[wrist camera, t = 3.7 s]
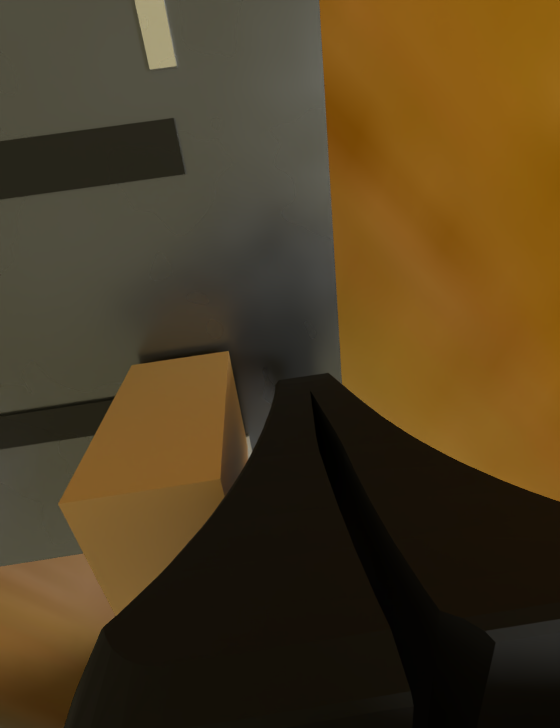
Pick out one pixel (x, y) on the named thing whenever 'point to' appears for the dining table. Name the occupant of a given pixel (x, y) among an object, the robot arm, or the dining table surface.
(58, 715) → the dining table surface
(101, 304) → the console
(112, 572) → the block
